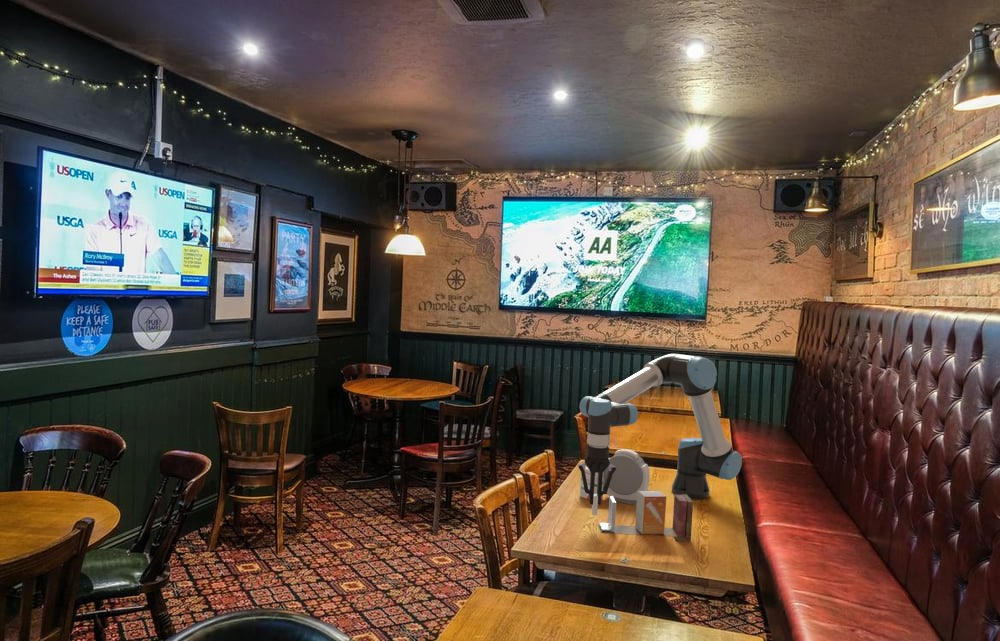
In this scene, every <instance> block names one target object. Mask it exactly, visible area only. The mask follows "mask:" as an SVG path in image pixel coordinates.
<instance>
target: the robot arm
mask: <svg viewBox="0 0 1000 641" xmlns="http://www.w3.org/2000/svg"><path fill="white" fill-rule="evenodd" d="M717 376H718V372H717V368H716V365H715V364H714V362H713V361H712V360H711V359H709V358H706V357H704V356H699V355H688V354H687V355H686V354H681V353H668V354H665V355H662V356H660V357H658V358H655V359H653V360H651V361H649V362H647V363H646V364H644V365H643V368H641V370H639V371H637V372H635V373H634V374H632V375H630V376H629V377H627V378H625V379H624V380H622V381H620V382H618V383H616V384H614V385H613V386H611V387H609V388H608V389H606V390H604V391H603V392H601V393H599V394H598V395H597V394H596V395H595V396H592V395H591V396H590V395H588V396H587V395H586V396H584V397H583V398H582V399H581V400H580V402H579V406H578V407H579V411H580V413H581V414H582V415H583V416H585V417H587V418H588V419H587V435H586V436H587V437H586V438H587V439H586V444H587V445H586V456H585V459H584V462H581V463H578V464H577V466H578V469H579V471H580V476H581V475H582V480H583V485H584V490H585V493H587V494H589V500H588V501H589V502H588V503H589V505H591V514H592V516H598V506H601V504H602V500H601V496H602V495H603V496H604V495H607V491H608V488H609V485H610V481H611V478H612V475H613V473H614V472H615V470H616V468H615V466H614V465H611V464H610V461H609V458H610V456H609V455H610V447H609V446H610V439H611V438H610V437H611V428H612V427H624V426H625V427H626V426H630V425H633V424H635V423H636V422H637V421H638V417H639V412H638V409H637V407H636V406H635V405H634V404H632V403H631V402H630V401H631V400H632V399H634V398H636V397H637V396H639V395H641V394H642V393H644V392H646V391H647V390H649V389H650V388H651V389H652V387H659V386H661V385H662V384H673V385H674V384H676V385H680V386H681V387H680V388H681V390H682V392H683V393H682V394H684V395H685V396H686V397H688V398H689V402H690V404H691V405H690V406H691V408H692V412H693V415H694V418H695V421H696V425H697V428H698V432H699V434H700V437H685V438H681V439H680V440H679V442H678V448H677V464H676V465H677V467H676V468H677V469H676V474H675V477H674V480H673V482H672V485H671V493H672V494H674V495H682V494H685V495H688V497H689V498H690V499H691V500H692V499H693V500H694V499H695V500H703V499H704V500H705V499H708V498H709V497H710V486H709V483H708V479H707V475H709V476H712V477H715V478H719V479H721V480H727V481H731V480H734V479H736V477H737V476H738V474H739V473H740V471H741V469H742V462H743V457H742V454H741V453H740V452H738V451H737V450H734V449H733V446H732V443H731V442H730V440H728V439H726V437H725V433H724V429H723V426H722V423H721V420H720V416H719V413H718V410H717V406H716V403H715V400H714V396H713V392H712V391H713V389H714V387H715V384H716V382H717ZM628 402H630V403H628ZM585 467H588V469H589V470H590V489H588V485H587V480H586V475H585V471H584V470H585ZM607 467H608V470H609V471H608V474H607V477H606V480H605V483H604V487H603V490H602V477H603V472H604V471H605V470H606V468H607ZM595 473H598V484H597V494H594V483H595Z"/></svg>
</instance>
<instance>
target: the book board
mask: <svg viewBox="0 0 1000 641" xmlns="http://www.w3.org/2000/svg"><path fill="white" fill-rule="evenodd" d="M673 497H674V498H673V514H672V527H664V534H642V533H640V532H639V531H638V530H637V529H636V528H635V525H624V524H622V525H620V524H615V532H611V531H602V530H601V527H600V523H597V526H598V528H599V531H600V534H616V535H632V536H633V535H634V536H635V535H636V536H651V537H652V536H653V537H656V536H657V537H668V538H669V537H672V538H674V540H675V542H683V541H684V542H685V543H688V542H689V543H691V542H692V528H693V526H692V525H693V510H694V509H693V508H694V501H693V500H692V499H691V498H689V497H688V495H685V494H682V495H676V494H674V496H673ZM684 542H683V543H684Z"/></svg>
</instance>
